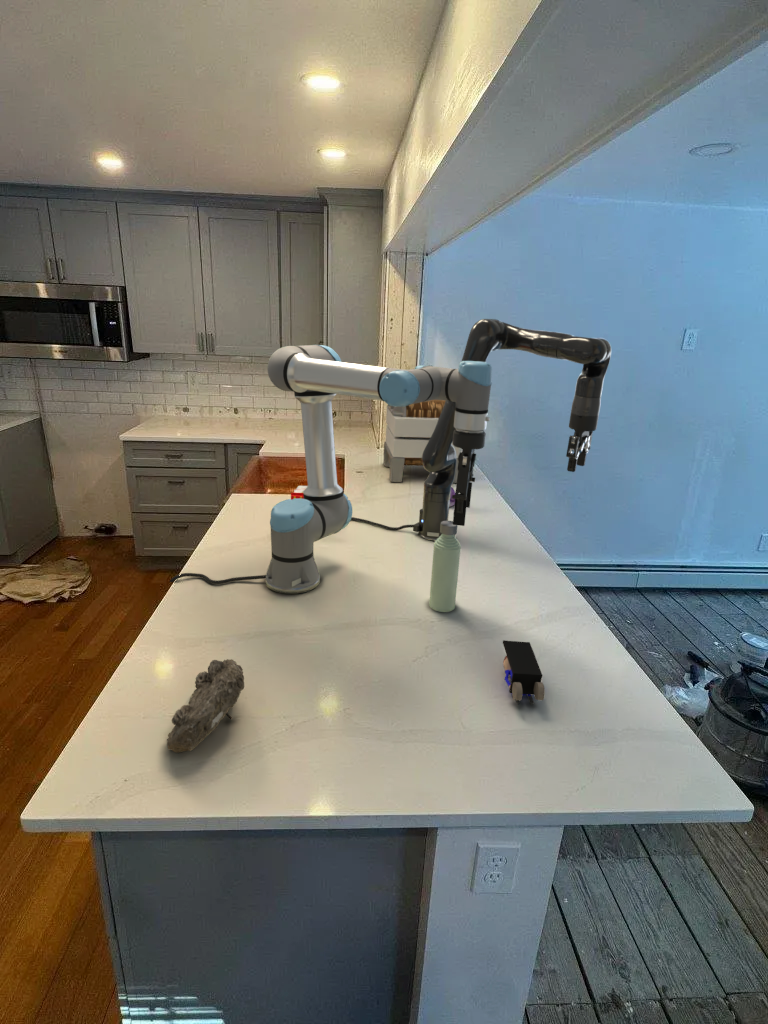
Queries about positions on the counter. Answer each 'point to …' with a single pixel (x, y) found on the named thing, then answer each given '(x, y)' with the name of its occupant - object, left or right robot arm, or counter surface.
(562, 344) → the right robot arm
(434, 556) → the bottle
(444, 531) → the cap
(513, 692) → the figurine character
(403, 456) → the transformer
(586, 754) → the counter surface
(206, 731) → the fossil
